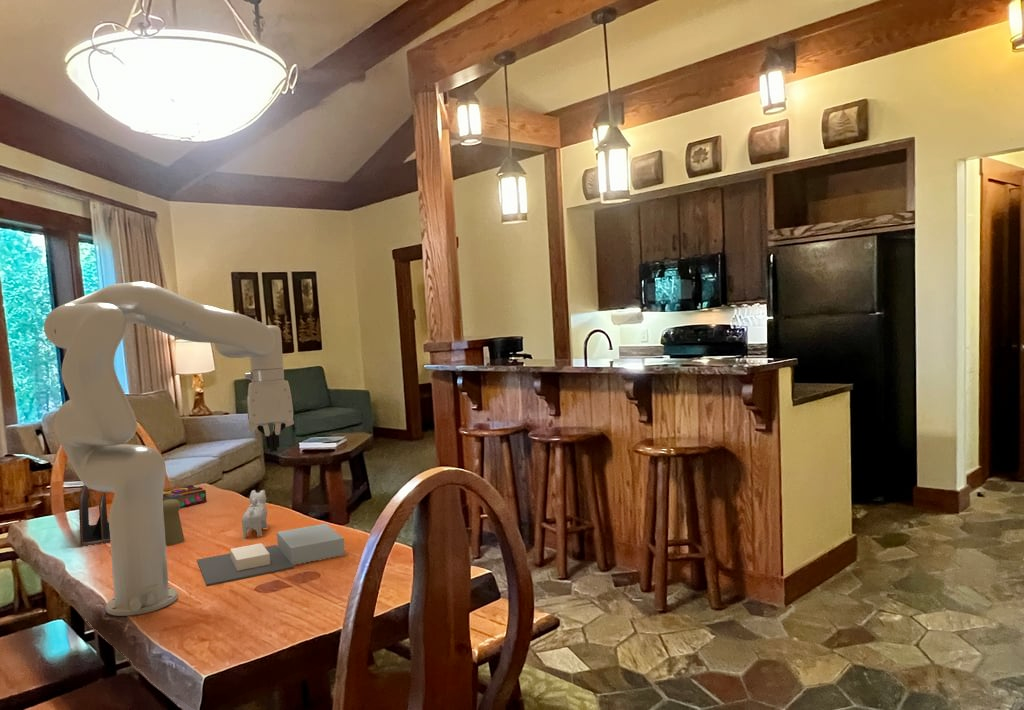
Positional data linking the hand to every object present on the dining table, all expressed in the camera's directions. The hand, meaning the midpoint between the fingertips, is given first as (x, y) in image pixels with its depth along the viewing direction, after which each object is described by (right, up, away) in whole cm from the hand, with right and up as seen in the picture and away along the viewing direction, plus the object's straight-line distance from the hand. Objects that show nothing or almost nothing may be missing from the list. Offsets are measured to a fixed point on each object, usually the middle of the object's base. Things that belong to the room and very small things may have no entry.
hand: (272, 451), depth 172 cm
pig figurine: (-10, -24, +16) cm, 31 cm away
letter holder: (-53, -26, +21) cm, 63 cm away
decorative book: (-48, -25, +55) cm, 77 cm away
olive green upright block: (-30, -25, +11) cm, 41 cm away
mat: (-3, -25, -11) cm, 27 cm away
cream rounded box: (-2, -22, -10) cm, 24 cm away
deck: (+10, -24, -3) cm, 26 cm away
